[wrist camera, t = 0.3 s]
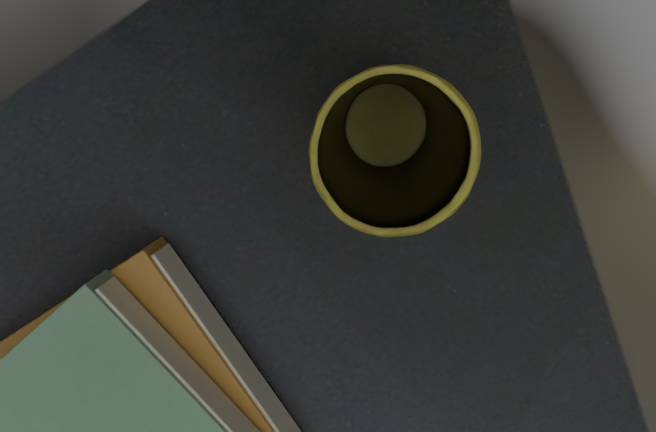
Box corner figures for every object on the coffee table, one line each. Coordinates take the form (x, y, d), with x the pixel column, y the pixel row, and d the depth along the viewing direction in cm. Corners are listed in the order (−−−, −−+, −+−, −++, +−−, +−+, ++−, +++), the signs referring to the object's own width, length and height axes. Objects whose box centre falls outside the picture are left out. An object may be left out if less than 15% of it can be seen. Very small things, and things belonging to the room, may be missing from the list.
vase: (330, 183, 32) (297, 254, 18) (326, 68, 31) (287, 51, 17) (443, 180, 32) (495, 251, 18) (443, 63, 31) (500, 42, 17)
